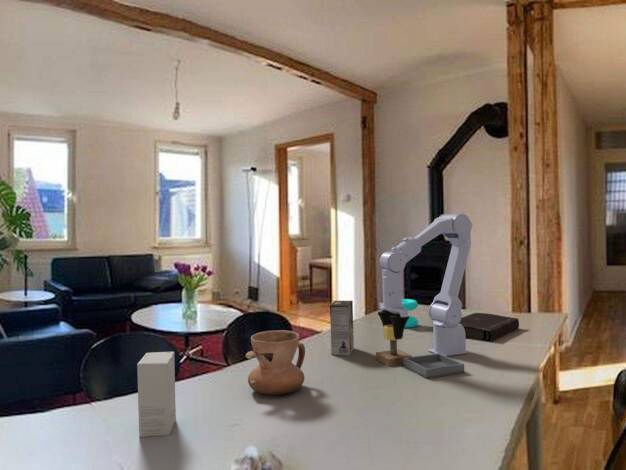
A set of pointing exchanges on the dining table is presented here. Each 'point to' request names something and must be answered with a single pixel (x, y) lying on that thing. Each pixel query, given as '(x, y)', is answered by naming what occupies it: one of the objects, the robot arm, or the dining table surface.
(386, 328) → the ring
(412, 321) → the donuts
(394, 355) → the block
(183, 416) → the dining table surface
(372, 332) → the dining table surface
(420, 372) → the tray
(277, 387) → the ceramic jug
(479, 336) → the diary
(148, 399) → the skincare box
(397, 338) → the robot arm
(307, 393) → the dining table surface
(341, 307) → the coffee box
